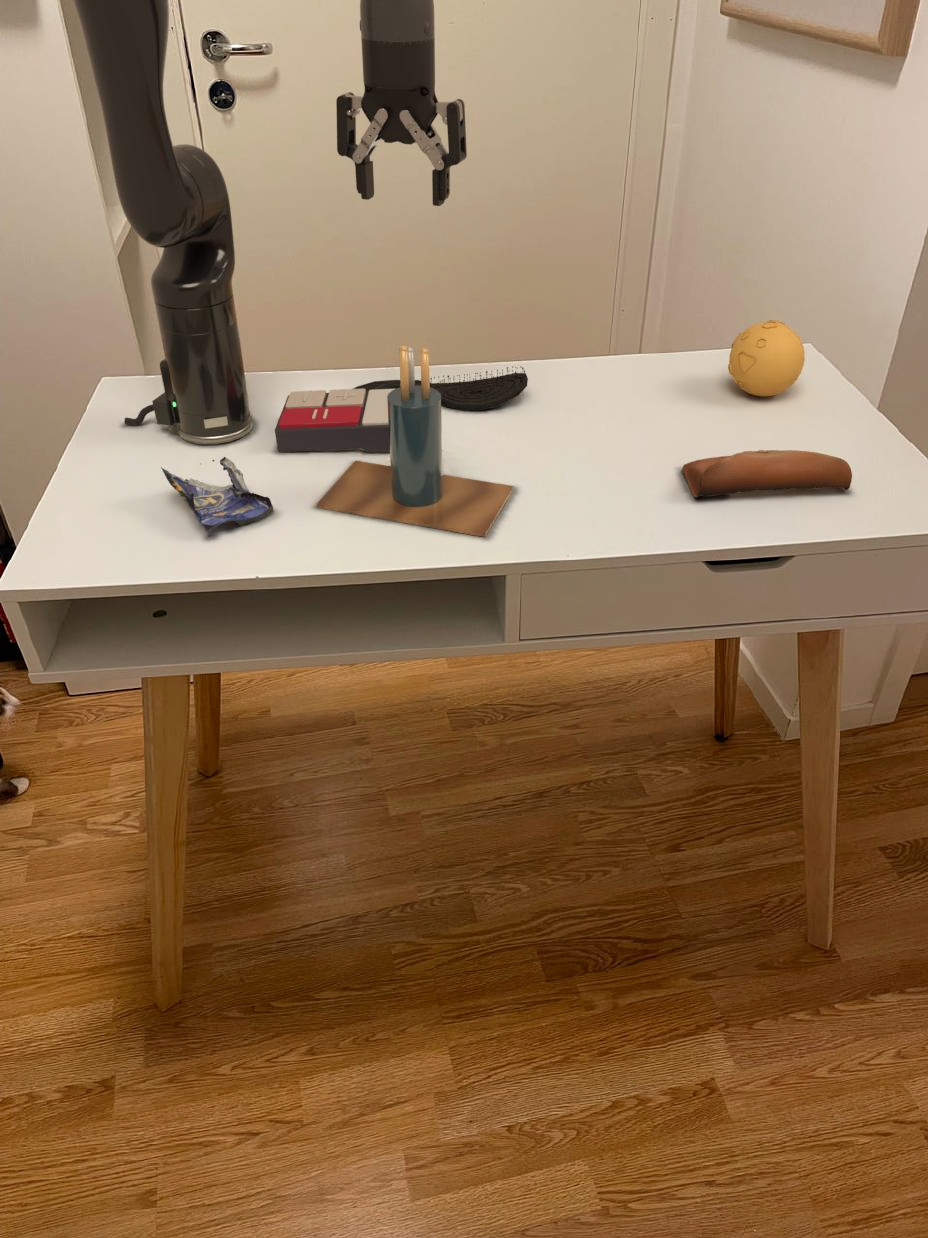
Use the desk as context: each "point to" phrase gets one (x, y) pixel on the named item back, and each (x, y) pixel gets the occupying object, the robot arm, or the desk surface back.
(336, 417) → the calculator
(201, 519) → the snack package
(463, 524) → the brown wooden board
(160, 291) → the robot arm
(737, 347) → the stress ball
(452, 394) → the hairbrush
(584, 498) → the desk surface
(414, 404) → the cutlery holder
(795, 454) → the sunglasses case
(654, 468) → the desk surface
